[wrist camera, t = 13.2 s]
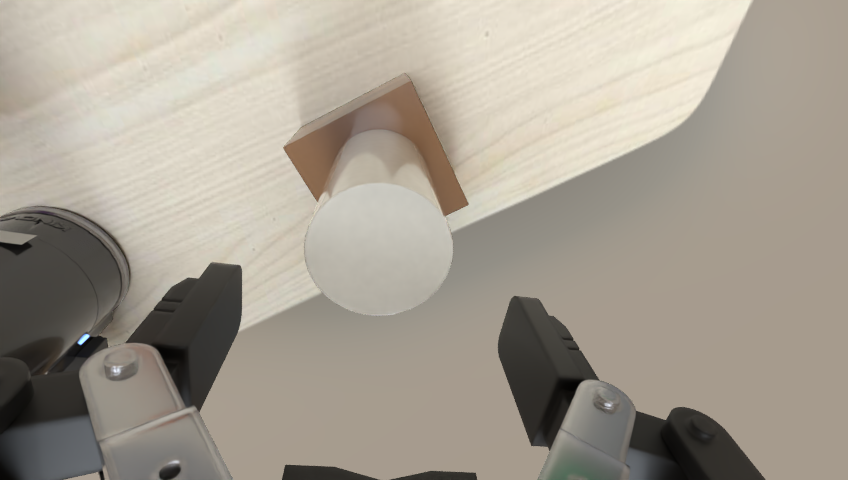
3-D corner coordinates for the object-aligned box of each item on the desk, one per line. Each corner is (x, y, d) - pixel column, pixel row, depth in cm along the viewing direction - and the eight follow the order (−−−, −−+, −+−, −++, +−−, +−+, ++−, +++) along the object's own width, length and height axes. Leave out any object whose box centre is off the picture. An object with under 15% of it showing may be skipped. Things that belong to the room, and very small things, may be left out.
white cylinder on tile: (418, 227, 27) (438, 322, 18) (327, 215, 26) (299, 308, 17) (436, 137, 25) (468, 195, 16) (336, 121, 24) (309, 171, 15)
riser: (358, 223, 33) (354, 259, 27) (300, 127, 30) (282, 147, 24) (453, 176, 32) (468, 204, 27) (405, 72, 29) (411, 80, 23)
